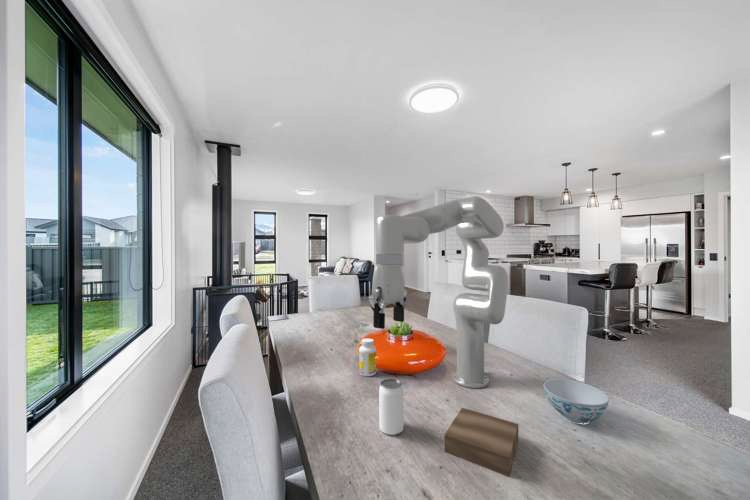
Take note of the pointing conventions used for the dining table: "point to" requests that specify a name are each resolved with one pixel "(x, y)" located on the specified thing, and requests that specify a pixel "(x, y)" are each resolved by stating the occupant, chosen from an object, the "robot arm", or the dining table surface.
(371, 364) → the supplement bottle
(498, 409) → the dining table surface
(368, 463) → the dining table surface
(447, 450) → the base
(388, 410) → the can
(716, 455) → the dining table surface
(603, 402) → the chinaware
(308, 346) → the dining table surface
